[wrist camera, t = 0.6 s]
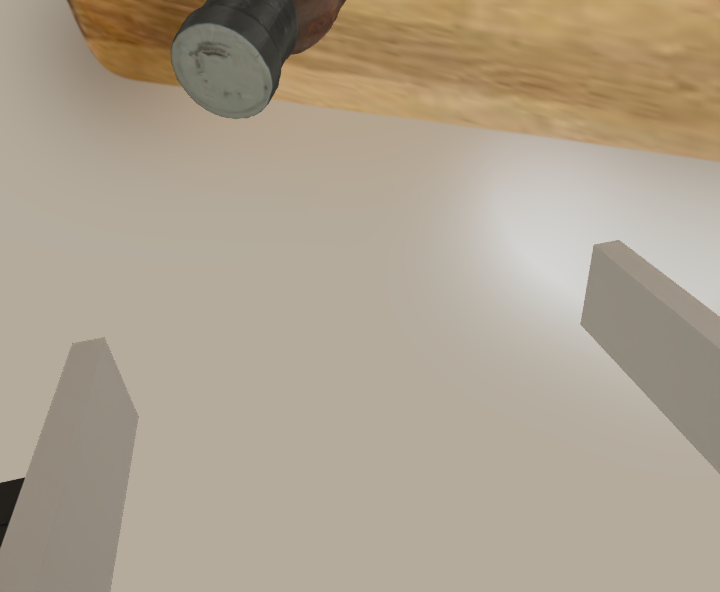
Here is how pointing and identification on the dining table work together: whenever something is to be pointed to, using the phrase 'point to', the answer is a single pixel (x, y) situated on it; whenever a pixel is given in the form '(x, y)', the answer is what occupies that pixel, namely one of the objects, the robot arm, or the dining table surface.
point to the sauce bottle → (245, 49)
